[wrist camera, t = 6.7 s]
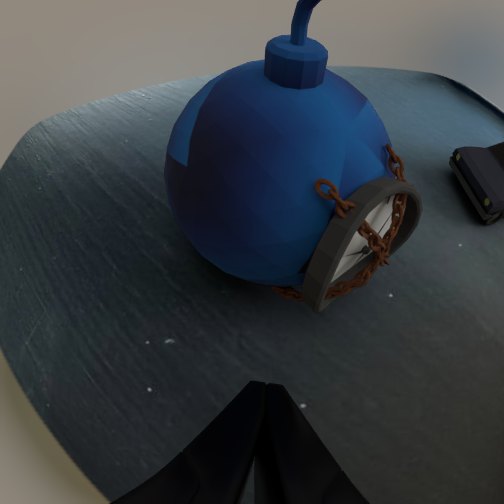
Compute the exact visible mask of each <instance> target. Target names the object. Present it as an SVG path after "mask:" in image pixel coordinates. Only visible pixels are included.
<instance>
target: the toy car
mask: <svg viewBox="0 0 504 504" xmlns="http://www.w3.org/2000/svg"><path fill="white" fill-rule="evenodd" d="M449 164H450V166H451V168H452V170H453V171H454V173H455V175H456V176H457V178H458V180H459V181H460V183H461V185H462V186H463V188H464V190H465V191H466V193H467V195H468V196H469V198H470V199H471V201H472V203H473V204H474V206H475V208H476V209H477V211H478V213H479V214H480V216H481V217H482V219H483V221H484V223H485V224H486V225H492V224H494V223H496V222H497V221H499V220H500V219H501V218H502V217H503V216H504V142H502V143H499V144H496V145H493V146H490V147H487V148H481V147H461V148H457V149H455V150H454V152H453V156H452V157H450V161H449Z"/></svg>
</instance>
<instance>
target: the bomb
mask: <svg viewBox="0 0 504 504" xmlns="http://www.w3.org/2000/svg"><path fill="white" fill-rule="evenodd" d="M320 1H321V0H299V1H298V2H297V5H296V9H295V12H294V16H293V20H292V24H291V35H281V36H278V37H275V38H273V39H271V40H270V41H268V43H267V45H266V49H265V60H259V61H252V62H247V63H245V64H242V65H240V66H237V67H235V68H232V69H230V70H228V71H226V72H224V73H222V74H221V75H219V76H217V77H215V78H214V79H212V80H210V81H209V82H208V83H207V84H206V85H205V86H204V87H203V88H202V89H201V90H200V91H199V92H198V93H196V94H195V95H194V96H193V97H192V98H191V99H190V100H189V102H188V103H187V105H186V107H185V108H184V110H183V111H182V113H181V114H180V116H179V118H178V119H177V121H176V123H175V124H174V127H173V130H172V133H171V136H170V140H169V143H168V146H167V153H166V162H165V170H164V177H165V183H166V189H167V195H168V201H169V205H170V208H171V210H172V212H173V214H174V216H175V218H176V220H177V223H178V225H179V227H180V229H181V231H182V233H183V234H184V235H185V236H186V237H187V239H188V240H189V241H190V242H191V244H192V245H193V246H194V247H195V248H196V250H197V251H198V252H199V253H200V254H201V255H202V256H203V257H204V258H206V259H207V260H209V261H210V262H211V263H213V264H214V265H216V266H217V267H218V268H220V269H221V270H223V271H224V272H225V273H228V274H230V275H233V276H236V277H238V278H241V279H244V280H246V281H249V282H252V283H258V284H265V285H272V288H273V289H274V290H275V291H277V292H278V293H279V294H280V295H281V296H282V297H284V298H291V299H293V300H296V301H304V300H305V301H306V303H307V304H308V305H309V306H310V307H311V309H312V310H313V311H314V312H321V311H322V310H323V309H325V308H326V307H327V306H328V305H329V304H330V303H331V302H332V301H334V300H335V299H336V298H337V297H338V296H344V295H346V294H347V293H349V292H350V290H352V289H355V288H356V287H361V286H363V285H365V284H366V283H367V282H368V281H369V279H370V276H371V275H372V274H373V273H374V272H375V270H376V269H377V266H378V265H380V266H383V265H384V263H385V264H387V265H389V263H390V262H389V261H388V260H387V258H388V257H390V256H391V255H392V254H393V253H394V252H395V251H396V250H397V249H398V248H400V247H401V246H402V245H403V244H404V243H405V242H406V241H407V240H408V238H409V237H410V235H411V234H412V233H413V231H414V230H415V228H416V227H417V225H418V222H419V219H420V216H421V213H422V201H421V194H420V193H419V192H418V190H417V189H416V188H415V187H414V185H412V184H410V183H407V182H406V180H405V179H404V175H403V171H404V167H403V162H402V160H401V158H400V157H399V156H397V155H395V153H394V151H393V149H392V145H391V142H390V139H389V137H388V134H387V132H386V129H385V127H384V124H383V122H382V121H381V119H380V117H379V116H378V114H377V113H376V111H375V110H374V108H373V106H372V105H371V103H370V102H369V100H368V99H367V98H366V97H365V96H364V95H363V94H362V93H361V92H360V91H358V90H357V89H356V88H355V87H354V86H353V85H351V84H350V83H349V82H348V81H347V80H345V79H343V78H342V77H340V76H338V75H336V74H335V73H333V72H331V71H329V70H328V69H326V64H327V59H328V51H327V50H326V49H325V47H324V46H323V45H322V44H320V43H319V42H317V41H316V40H313V39H310V38H307V27H308V23H309V19H310V16H311V13H312V10H313V8H314V7H315V6H316V5H317V4H318V3H319V2H320ZM397 161H398V163H399V164H400V167H396V170H395V166H394V164H396V163H397ZM395 176H397V179H395ZM361 278H362V279H365V280H364V281H363V282H362V279H361ZM285 285H302V293H300V292H299V291H295V290H294V289H293V288H291V287H279V286H285ZM352 285H353V286H352ZM286 290H288V291H286ZM285 294H287V295H285ZM295 294H296V295H298V296H297V297H295Z"/></svg>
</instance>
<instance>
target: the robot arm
mask: <svg viewBox="0 0 504 504" xmlns="http://www.w3.org/2000/svg"><path fill="white" fill-rule="evenodd" d="M254 457H255V461H254ZM253 461H254V491H255V504H370V503H369V502H368V501H367V500H366V499H365V498H364V497H363V496H362V494H361V493H360V492H359V491H358V489H357V488H356V487H355V486H354V485H353V483H352V482H351V481H350V479H349V478H348V477H347V475H346V474H345V473H344V471H341V470H342V469H341V467H340V466H339V465H338V463H337V462H336V460H335V459H334V458H333V456H332V455H331V454H330V452H329V451H328V449H327V448H326V447H325V445H324V444H323V442H322V441H321V440H320V438H319V437H318V435H317V434H316V432H315V431H314V430H313V428H312V427H311V425H310V424H309V422H308V421H307V420H306V418H305V417H304V415H303V414H302V412H301V411H300V409H299V408H298V406H297V405H296V404H295V402H294V401H293V399H292V398H291V396H290V395H289V393H288V392H287V390H286V389H285V387H284V386H283V385H281V384H273V383H268V384H267V385H266V383H265V382H259V381H250V382H249V383H248V384H247V385H246V386H245V387H244V388H243V389H242V390H241V391H240V393H239V394H238V395H237V396H236V397H235V398H234V399H233V400H232V401H231V402H230V403H229V404H228V405H227V406H226V407H225V408H224V409H223V410H222V412H221V413H220V414H219V415H218V416H217V417H216V418H215V419H214V420H213V421H212V422H211V423H210V424H209V425H208V426H207V427H206V428H205V429H204V430H203V431H202V432H201V433H200V434H199V435H198V436H197V437H196V438H195V439H194V440H193V441H192V442H191V443H190V444H189V445H188V446H187V447H186V448H185V449H183V452H180V453H179V454H178V455H177V456H176V457H175V458H174V459H173V460H172V461H171V462H169V463H168V464H167V465H166V466H165V467H164V468H162V469H161V470H160V471H159V472H158V473H156V474H155V475H154V476H152V477H151V478H149V479H148V480H147V481H145V482H144V483H142V484H141V485H139V486H138V487H136V488H135V489H133V490H131V491H130V492H128V493H127V494H125V495H123V496H122V497H120V498H118V499H117V500H115V501H113V502H112V503H110V504H240V503H241V500H242V497H243V494H244V491H245V487H246V484H247V481H248V478H249V475H250V471H251V468H252V464H253Z"/></svg>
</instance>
